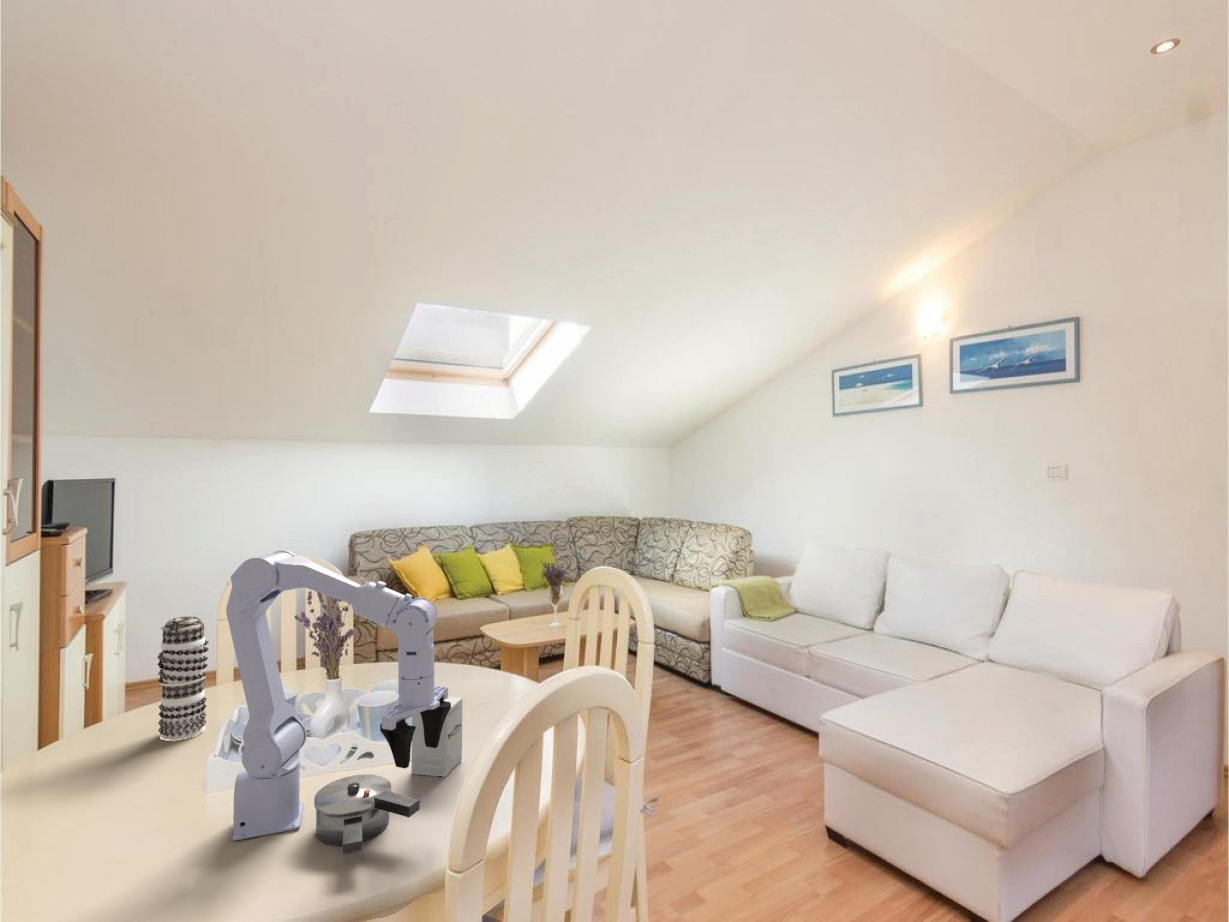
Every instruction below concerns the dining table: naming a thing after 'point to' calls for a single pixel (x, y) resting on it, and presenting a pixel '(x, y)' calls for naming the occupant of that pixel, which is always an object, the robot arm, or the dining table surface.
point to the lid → (362, 797)
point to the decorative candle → (182, 678)
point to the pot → (350, 828)
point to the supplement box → (448, 747)
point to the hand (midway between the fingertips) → (417, 756)
